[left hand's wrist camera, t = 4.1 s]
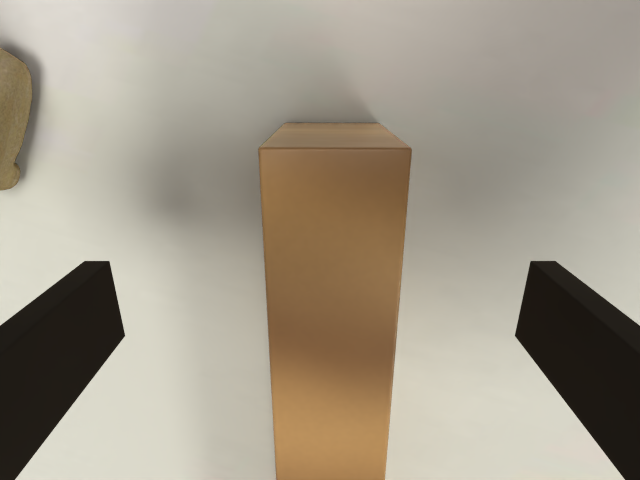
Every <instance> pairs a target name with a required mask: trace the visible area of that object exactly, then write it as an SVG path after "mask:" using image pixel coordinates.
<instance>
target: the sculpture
mask: <svg viewBox="0 0 640 480" xmlns="http://www.w3.org/2000/svg"><path fill="white" fill-rule="evenodd" d="M31 102H32V79H31V75H30V72H29V70H28V68H27V66H26V64H25V63H23V62H22V61H21V60H19V59H18V58H16V57H14V56H13V55H11V54H10V53H8V52H7V51H5V50H3V49H2V48H0V190H5V189H10V188H12V187H13V186H15V185H16V184H17V182H18V180H19V176H20V168H19V166H18V165H17V164H16V163H14V162H15V159H16V157H17V155H18V153H19V151H20V148H21V146H22V143H23V139H24V135H25V131H26V127H27V123H28V120H29V114H30V105H31Z"/></svg>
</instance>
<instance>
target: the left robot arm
mask: <svg viewBox="0 0 640 480" xmlns="http://www.w3.org/2000/svg"><path fill="white" fill-rule="evenodd" d="M124 336H125V333H124V329H123V324H122V319H121V314H120V310H119V305H118V300H117V295H116V291H115V286H114V281H113V276H112V272H111V267H110V262H109V261H84V262H83V263H82V264H80V265H79V266H78V267H76V268H75V269H74V270H72V271H71V272H70V273H69V274H67V275H66V276H65V277H63V278H62V279H61V280H59V281H58V282H57V283H56V284H54V285H53V286H52V287H50V288H49V289H48V290H46V291H45V292H44V293H42V294H41V295H40V296H39V297H37V298H36V299H35V300H33V301H32V302H31V303H29V304H28V305H27V306H25V307H24V308H23V309H22V310H20V311H19V312H18V313H16V314H15V315H14V316H12V317H11V318H10V319H8V320H7V321H6V322H5V323H3V324H2V325H1V326H0V480H15V479H16V478H17V476H18V475H19V474H20V472H21V471H22V470H23V468H24V467H25V466H26V464H27V463H28V462H29V461H30V459H31V458H32V457H33V455H34V454H35V453H36V451H37V450H38V449H39V447H40V446H41V445H42V444H43V442H44V441H45V440H46V438H47V437H48V436H49V434H50V433H51V432H52V430H53V429H54V428H55V427H56V425H57V424H58V423H59V421H60V420H61V419H62V417H63V416H64V415H65V414H66V412H67V411H68V410H69V408H70V407H71V406H72V404H73V403H74V402H75V400H76V399H77V398H78V397H79V395H80V394H81V393H82V391H83V390H84V389H85V387H86V386H87V385H88V383H89V382H90V381H91V380H92V378H93V377H94V376H95V374H96V373H97V372H98V370H99V369H100V368H101V366H102V365H103V364H104V363H105V361H106V360H107V359H108V357H109V356H110V355H111V353H112V352H113V351H114V350H115V348H116V347H117V346H118V344H119V343H120V342H121V340H122V339H123V338H124ZM515 336H516V338H517V339H518V340H519V342H520V343H521V344H522V346H523V347H524V348H525V350H526V351H527V352H528V353H529V355H530V356H531V357H532V359H533V360H534V361H535V363H536V364H537V365H538V366H539V368H540V369H541V370H542V372H543V373H544V374H545V376H546V377H547V378H548V380H549V381H550V382H551V383H552V385H553V386H554V387H555V389H556V390H557V391H558V393H559V394H560V395H561V397H562V398H563V399H564V400H565V402H566V403H567V404H568V406H569V407H570V408H571V410H572V411H573V412H574V414H575V415H576V416H577V417H578V419H579V420H580V421H581V423H582V424H583V425H584V427H585V428H586V429H587V430H588V432H589V433H590V434H591V436H592V437H593V438H594V440H595V441H596V442H597V444H598V445H599V446H600V447H601V449H602V450H603V451H604V453H605V454H606V455H607V457H608V458H609V459H610V461H611V462H612V463H613V464H614V466H615V467H616V468H617V470H618V471H619V472H620V474H621V475H622V476H623V478H624V479H625V480H640V326H639V325H638V324H637V323H635V322H634V321H633V320H632V319H630V318H629V317H628V316H626V315H625V314H624V313H622V312H621V311H620V310H618V309H617V308H616V307H615V306H613V305H612V304H611V303H609V302H608V301H607V300H605V299H604V298H603V297H601V296H600V295H599V294H598V293H596V292H595V291H594V290H592V289H591V288H590V287H588V286H587V285H586V284H584V283H583V282H582V281H581V280H579V279H578V278H577V277H575V276H574V275H573V274H571V273H570V272H569V271H568V270H566V269H565V268H564V267H562V266H561V265H560V264H558V263H557V262H556V261H531V262H530V267H529V272H528V276H527V281H526V286H525V291H524V295H523V300H522V305H521V310H520V314H519V319H518V324H517V329H516V333H515Z"/></svg>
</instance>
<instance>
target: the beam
mask: <svg viewBox="0 0 640 480" xmlns="http://www.w3.org/2000/svg"><path fill="white" fill-rule="evenodd" d="M258 153H259V171H260V189H261V208H262V226H263V244H264V262H265V281H266V299H267V317H268V336H269V354H270V372H271V390H272V409H273V427H274V445H275V463H276V480H385V471H386V459H387V447H388V434H389V422H390V410H391V398H392V385H393V373H394V361H395V349H396V336H397V324H398V312H399V300H400V287H401V275H402V263H403V251H404V239H405V226H406V214H407V202H408V190H409V177H410V165H411V153H412V149H411V148H410V147H409V146H408V145H406V144H405V143H404V142H403V141H401V140H400V139H399V138H397V137H396V136H395V135H394V134H392V133H391V132H390V131H389V130H387V129H386V128H385V127H383V126H382V125H381V124H379V123H284V124H283V125H282V126H281V127H280V128H279V129H278V130H277V131H276V132H275V133H274V134H273V135H272V136H271V137H270V138H269V139H268V140H267V141H266V142H264V143H263V144H262V145H261V146H260V147H259V149H258Z"/></svg>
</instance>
